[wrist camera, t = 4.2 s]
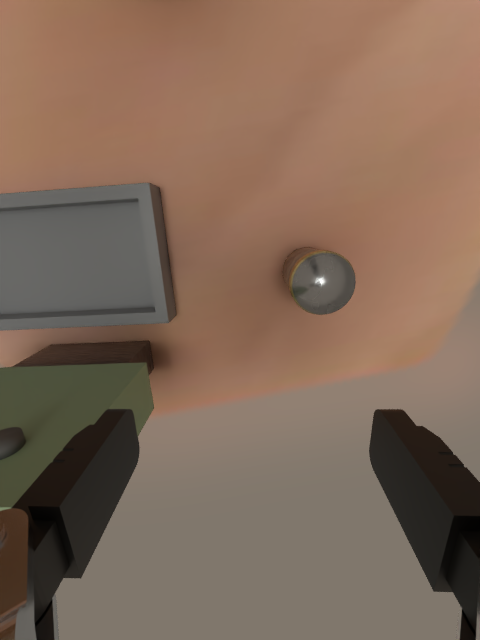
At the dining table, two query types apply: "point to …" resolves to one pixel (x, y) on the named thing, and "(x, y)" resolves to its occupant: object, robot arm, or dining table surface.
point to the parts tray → (84, 258)
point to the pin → (319, 279)
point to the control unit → (65, 403)
